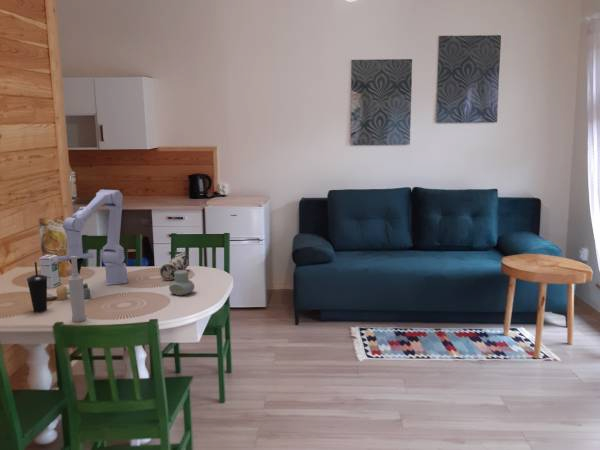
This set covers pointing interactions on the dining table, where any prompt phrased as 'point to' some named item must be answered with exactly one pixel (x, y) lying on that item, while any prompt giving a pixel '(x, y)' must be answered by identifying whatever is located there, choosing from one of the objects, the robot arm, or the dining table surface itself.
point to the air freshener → (181, 283)
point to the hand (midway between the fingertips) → (77, 275)
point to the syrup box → (50, 270)
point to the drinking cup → (38, 291)
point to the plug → (59, 294)
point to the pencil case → (174, 266)
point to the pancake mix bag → (53, 240)
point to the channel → (86, 291)
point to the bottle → (76, 293)
